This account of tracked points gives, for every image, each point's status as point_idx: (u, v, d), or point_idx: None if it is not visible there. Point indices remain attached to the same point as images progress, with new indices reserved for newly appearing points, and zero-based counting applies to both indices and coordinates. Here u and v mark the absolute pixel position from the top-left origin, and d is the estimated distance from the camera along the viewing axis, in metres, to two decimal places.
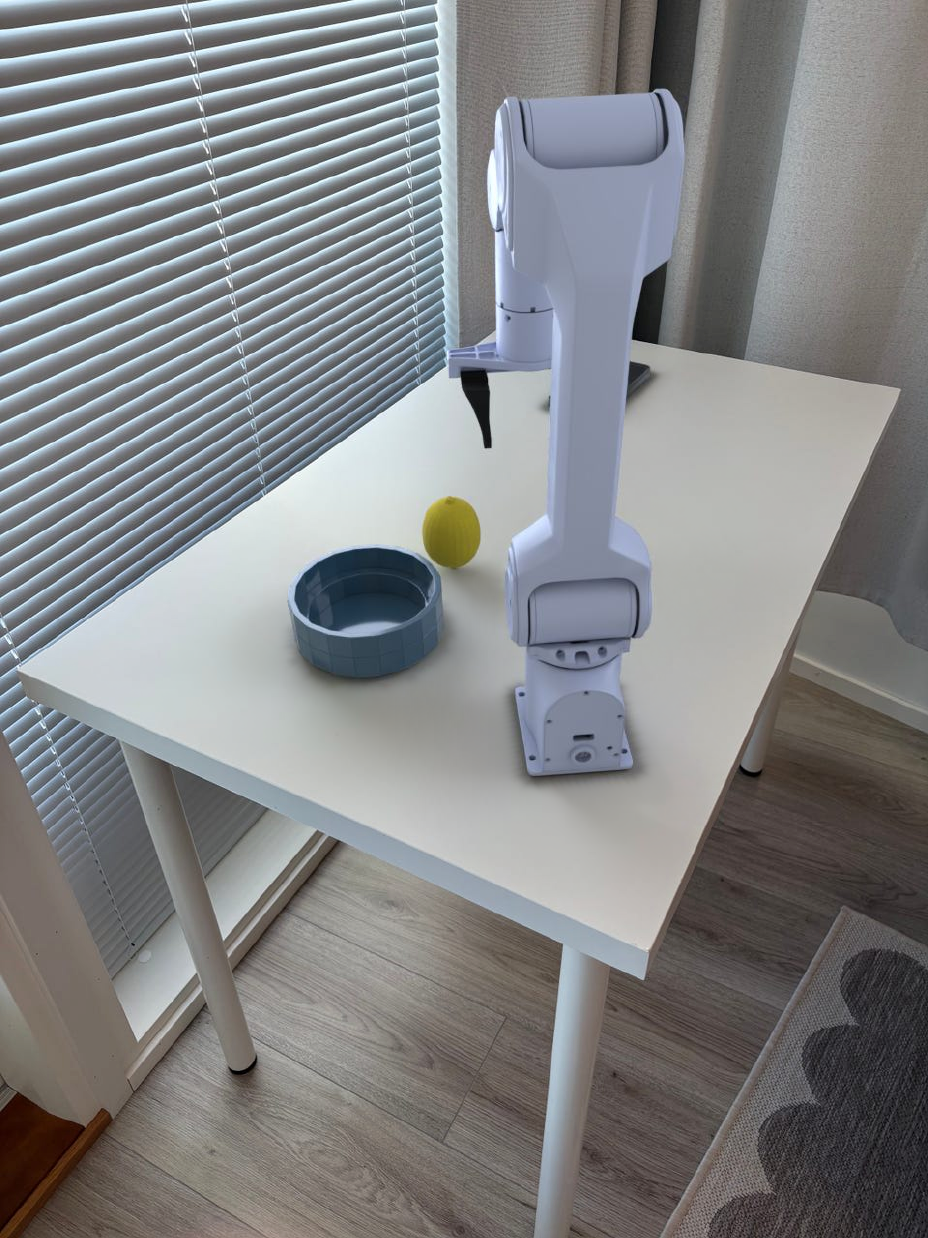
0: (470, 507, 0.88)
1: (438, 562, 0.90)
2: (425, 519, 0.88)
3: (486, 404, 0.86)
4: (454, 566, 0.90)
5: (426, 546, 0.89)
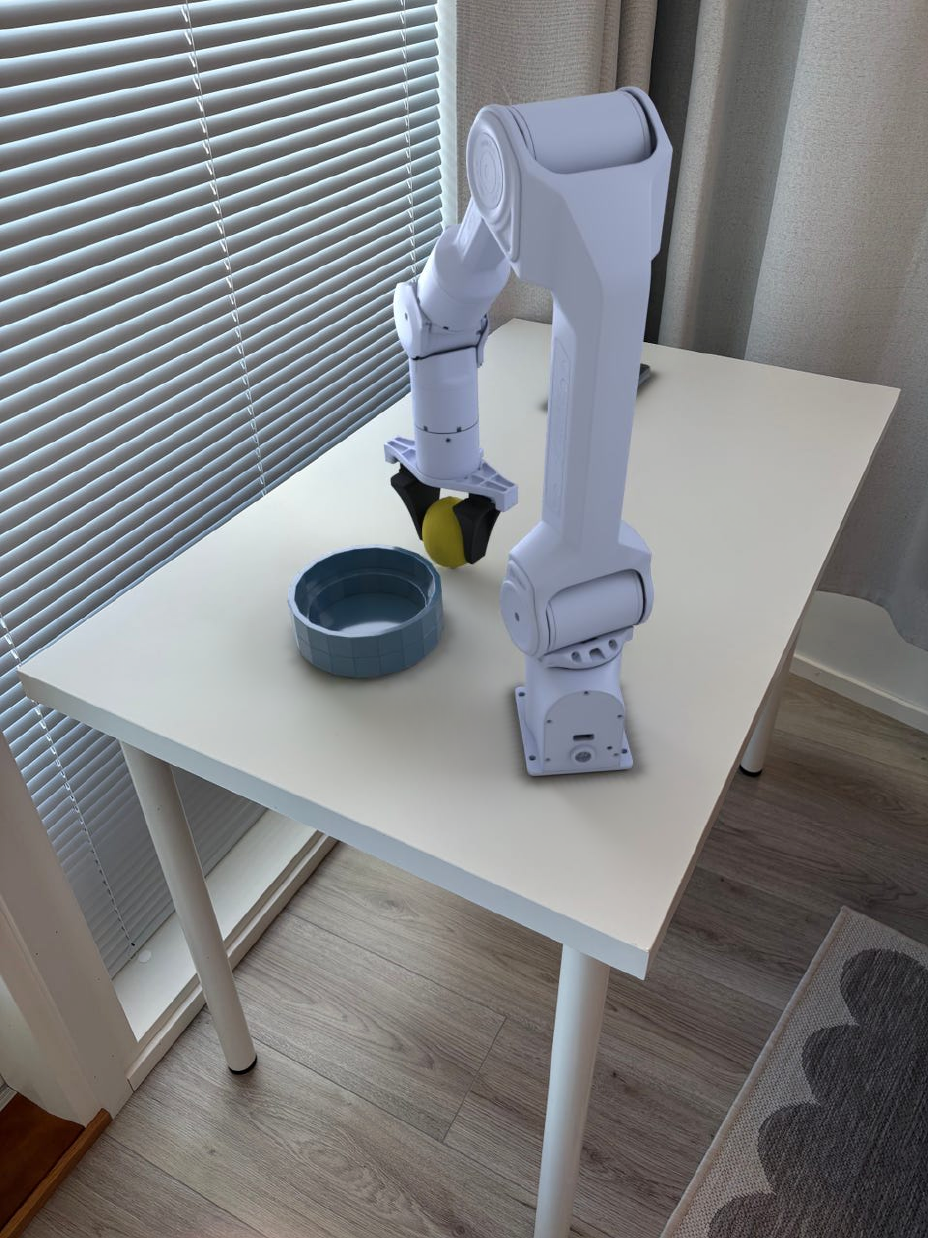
0: None
1: (438, 562, 0.90)
2: (425, 519, 0.88)
3: (409, 500, 0.88)
4: (454, 566, 0.90)
5: (426, 546, 0.89)
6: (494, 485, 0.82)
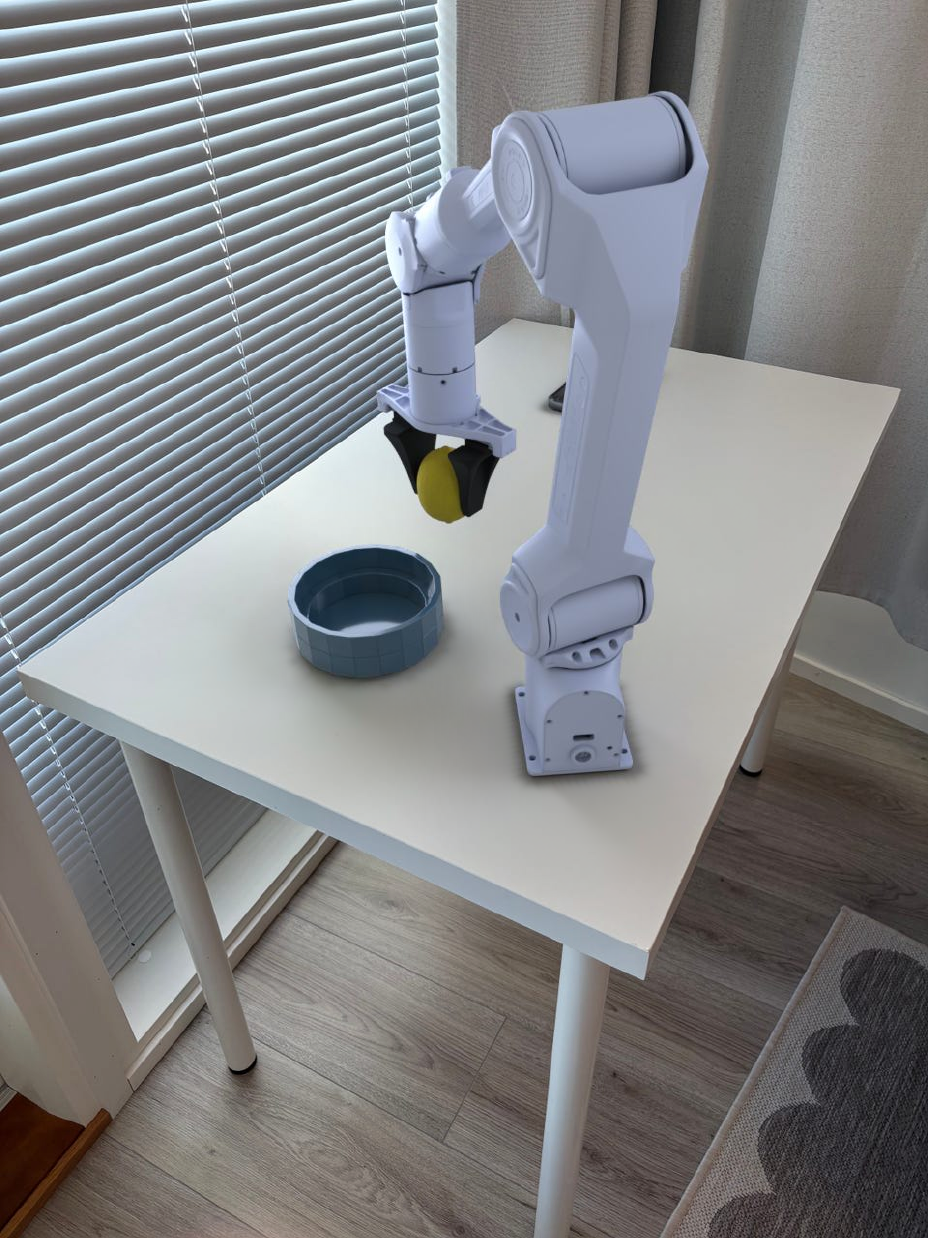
0: None
1: (433, 515, 0.86)
2: (420, 470, 0.85)
3: (403, 449, 0.85)
4: (450, 520, 0.86)
5: (421, 498, 0.86)
6: (491, 430, 0.79)
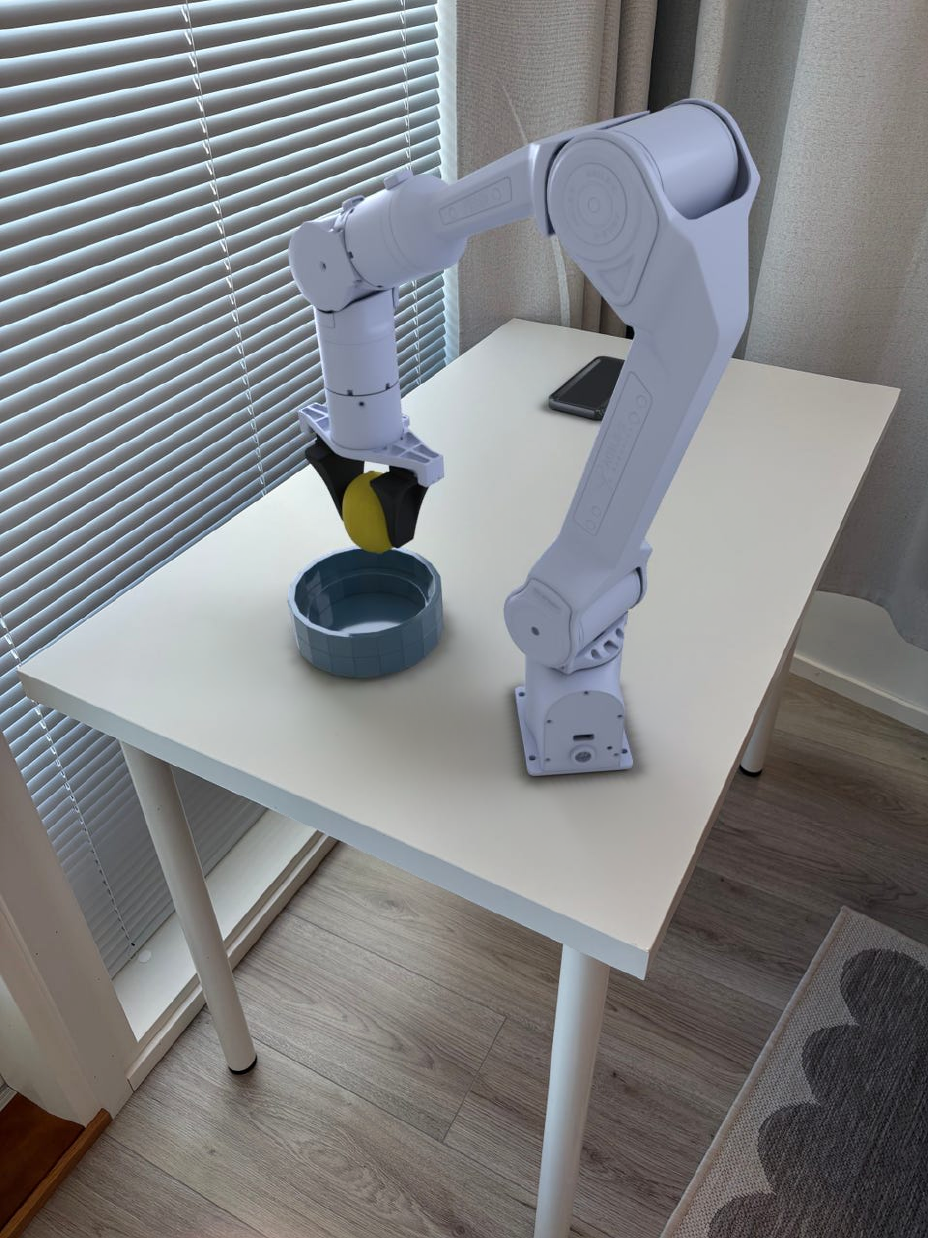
0: None
1: (360, 546, 0.79)
2: (344, 497, 0.78)
3: (326, 475, 0.78)
4: (378, 550, 0.79)
5: (346, 527, 0.79)
6: (416, 456, 0.72)
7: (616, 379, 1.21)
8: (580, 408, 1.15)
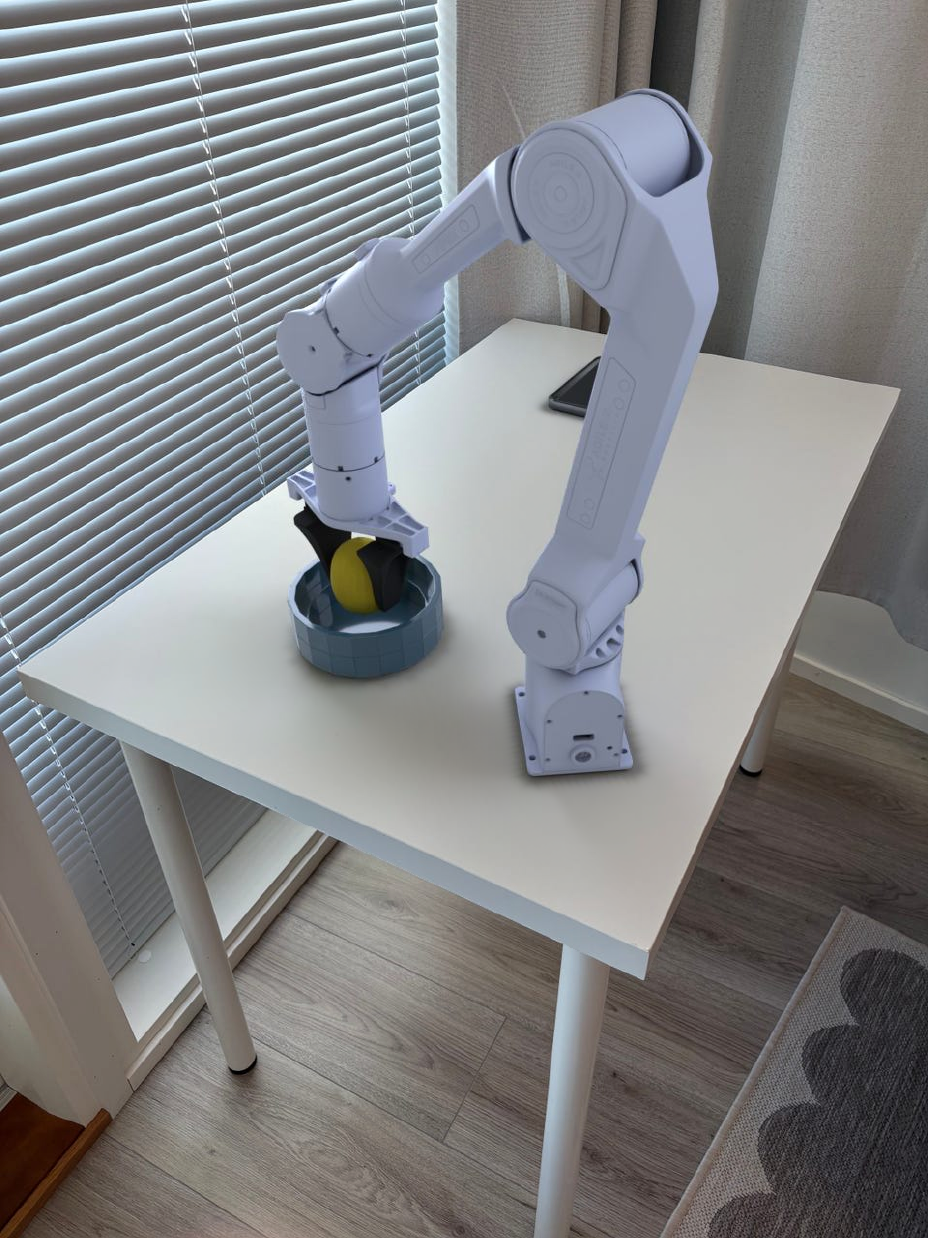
0: None
1: (348, 609, 0.81)
2: (332, 562, 0.80)
3: (314, 541, 0.80)
4: (366, 613, 0.81)
5: (334, 591, 0.81)
6: (402, 528, 0.74)
7: None
8: (580, 408, 1.15)
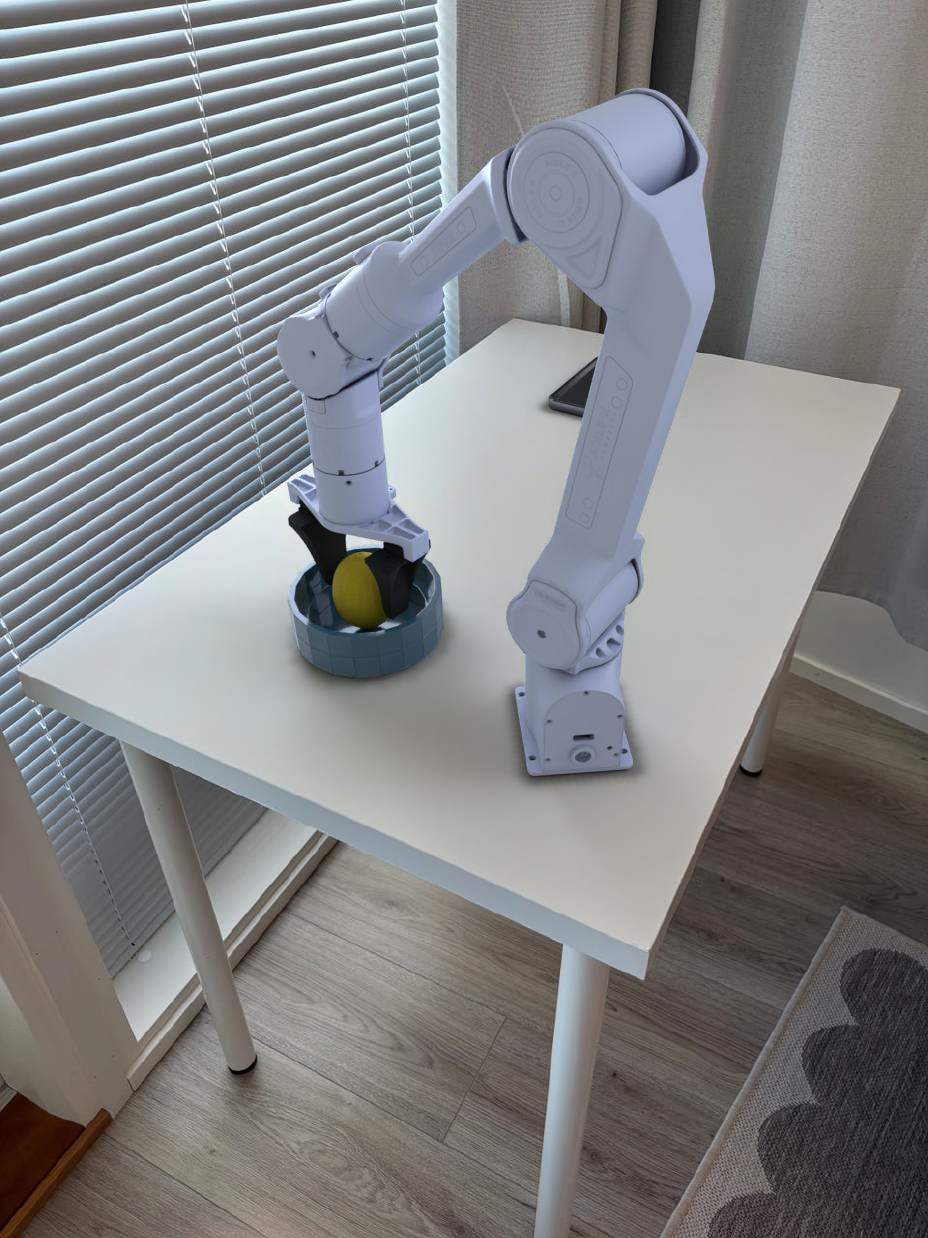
0: None
1: (350, 623, 0.82)
2: (334, 577, 0.81)
3: (309, 541, 0.80)
4: (367, 627, 0.82)
5: (336, 606, 0.82)
6: (402, 531, 0.74)
7: None
8: (580, 408, 1.15)
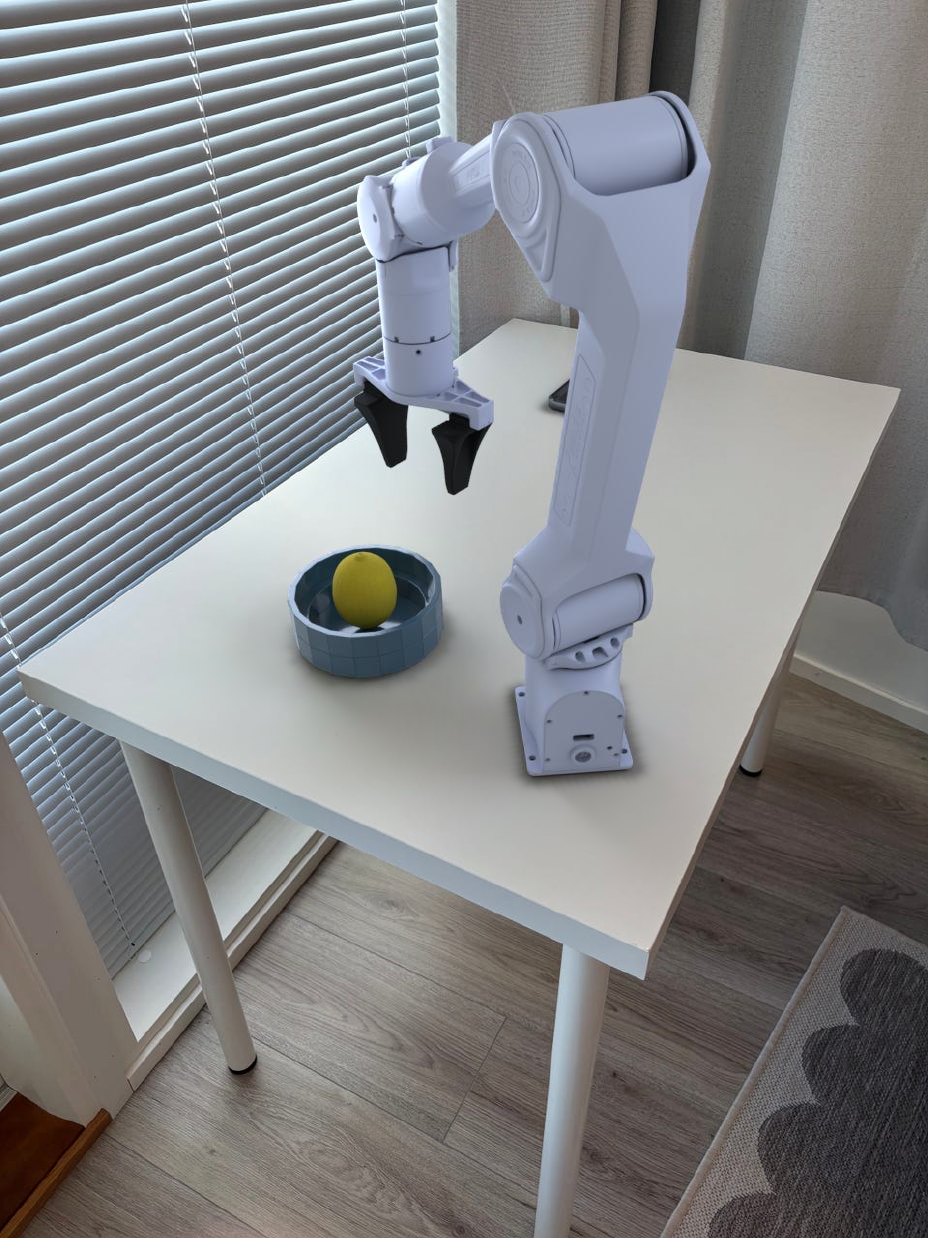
0: (383, 564, 0.81)
1: (350, 623, 0.82)
2: (334, 577, 0.81)
3: (373, 420, 0.84)
4: (367, 627, 0.82)
5: (336, 606, 0.82)
6: (468, 401, 0.77)
7: None
8: None
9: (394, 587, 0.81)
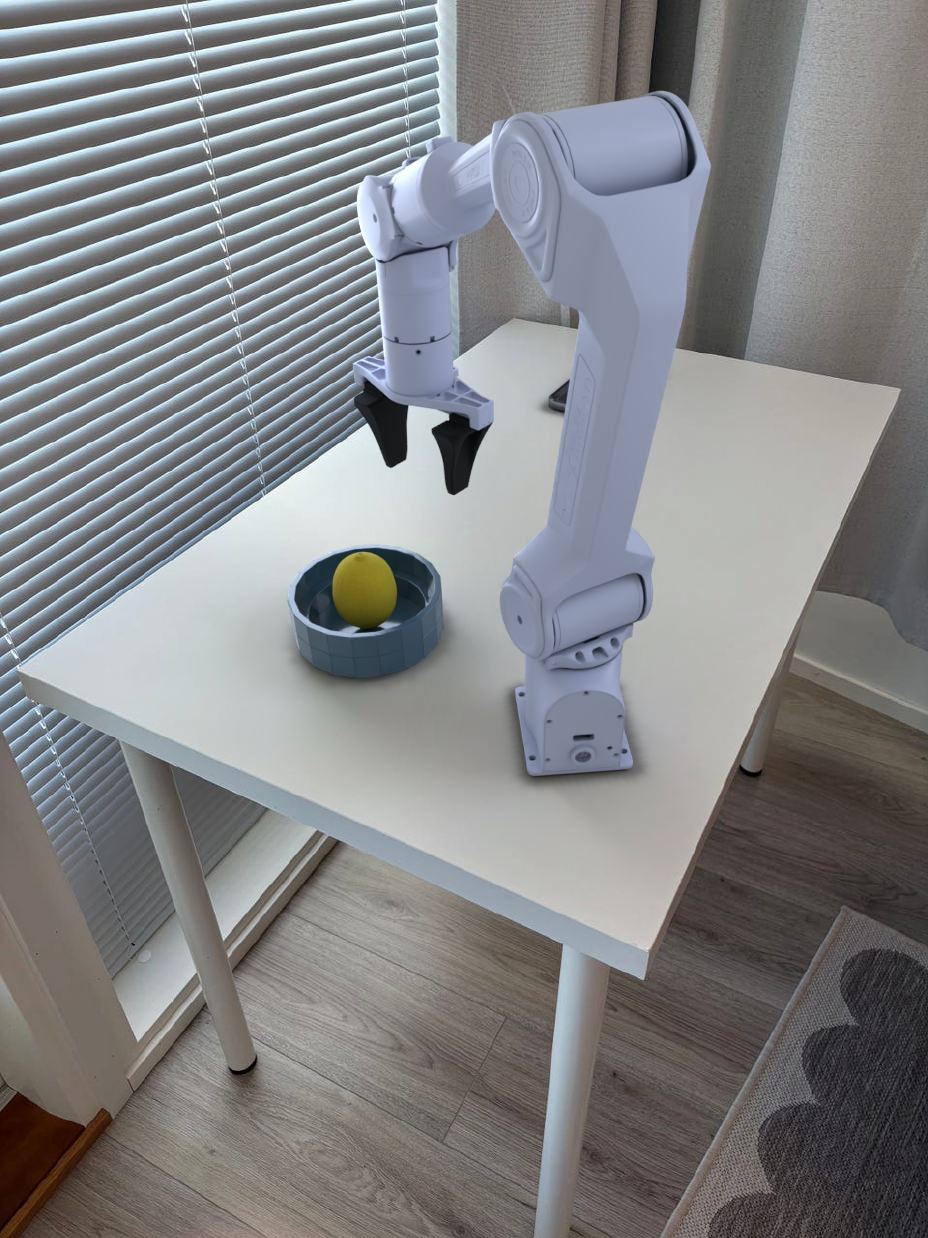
0: (383, 564, 0.81)
1: (350, 623, 0.82)
2: (334, 577, 0.81)
3: (373, 420, 0.84)
4: (367, 627, 0.82)
5: (336, 606, 0.82)
6: (468, 401, 0.77)
7: None
8: None
9: (394, 587, 0.81)
